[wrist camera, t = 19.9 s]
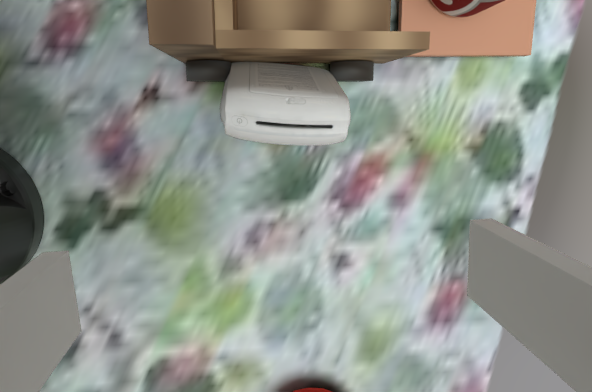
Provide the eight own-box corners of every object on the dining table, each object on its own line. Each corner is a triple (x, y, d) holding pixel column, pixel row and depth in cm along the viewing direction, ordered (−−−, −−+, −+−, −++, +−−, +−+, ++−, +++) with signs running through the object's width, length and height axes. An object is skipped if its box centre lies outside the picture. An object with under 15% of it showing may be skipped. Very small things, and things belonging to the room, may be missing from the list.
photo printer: (224, 102, 44) (216, 150, 33) (225, 56, 42) (218, 92, 31) (328, 109, 45) (355, 158, 34) (334, 65, 43) (364, 102, 32)
